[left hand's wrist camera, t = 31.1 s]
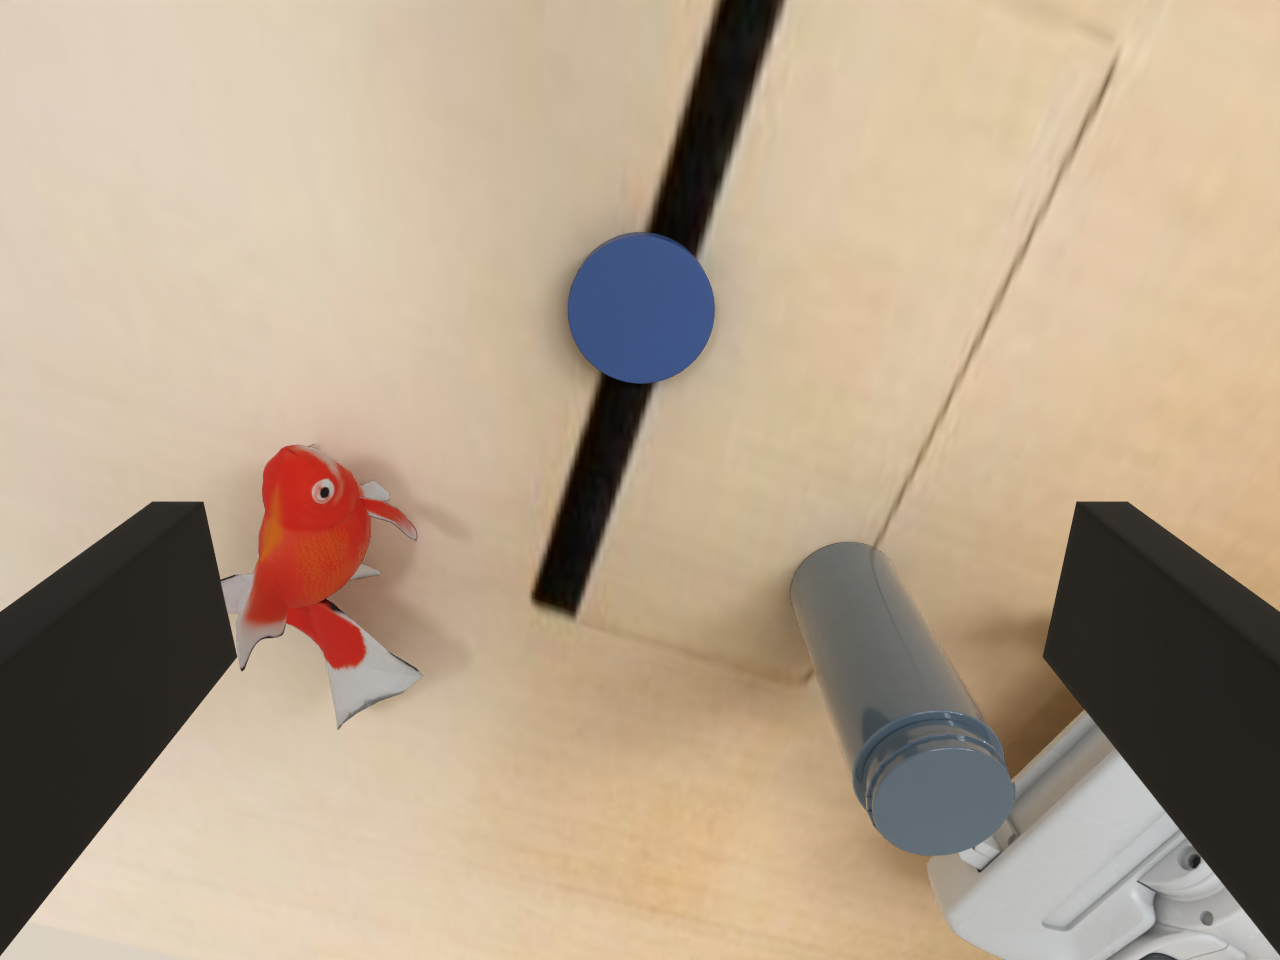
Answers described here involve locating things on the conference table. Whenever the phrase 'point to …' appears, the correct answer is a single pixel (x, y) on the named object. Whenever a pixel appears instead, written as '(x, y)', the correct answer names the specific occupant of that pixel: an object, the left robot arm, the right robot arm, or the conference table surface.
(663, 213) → the conference table surface
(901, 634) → the jar
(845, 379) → the conference table surface
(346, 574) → the fish
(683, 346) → the lid
